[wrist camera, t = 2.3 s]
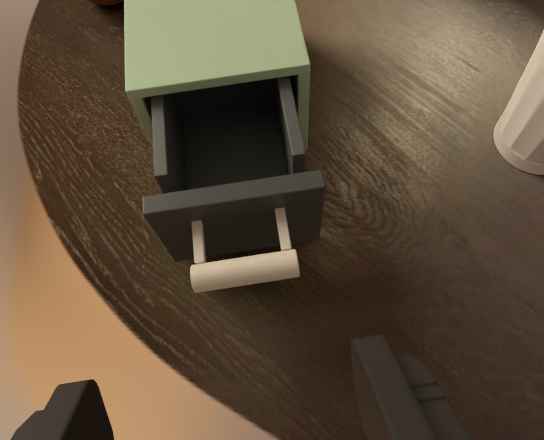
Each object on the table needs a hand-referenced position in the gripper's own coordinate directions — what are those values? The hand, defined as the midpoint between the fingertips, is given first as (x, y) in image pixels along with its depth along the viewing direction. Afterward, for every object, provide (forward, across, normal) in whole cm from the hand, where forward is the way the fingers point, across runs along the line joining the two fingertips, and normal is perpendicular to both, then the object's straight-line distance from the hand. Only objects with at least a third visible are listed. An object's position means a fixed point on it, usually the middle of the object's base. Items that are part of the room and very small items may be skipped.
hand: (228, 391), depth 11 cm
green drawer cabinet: (+33, 0, -4) cm, 33 cm away
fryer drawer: (+25, 0, +3) cm, 25 cm away
